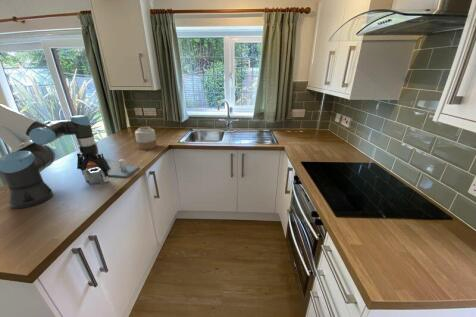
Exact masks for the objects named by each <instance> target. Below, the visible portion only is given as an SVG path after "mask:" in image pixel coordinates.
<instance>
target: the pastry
mask: <svg viewBox="0 0 476 317" xmlns="http://www.w3.org/2000/svg"><path fill="white" fill-rule="evenodd" d="M96 160H97V159H96ZM107 164H108V162H107ZM108 165H109V164H108ZM96 167H98V165H97V164H96V163H94V162H93V161H88V164H87V167H86V169H88V170H89V169H91V168H96Z"/></svg>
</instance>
